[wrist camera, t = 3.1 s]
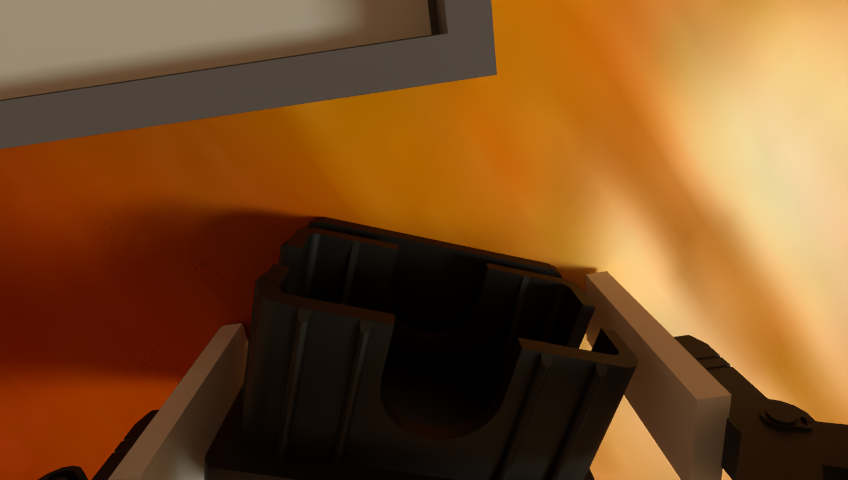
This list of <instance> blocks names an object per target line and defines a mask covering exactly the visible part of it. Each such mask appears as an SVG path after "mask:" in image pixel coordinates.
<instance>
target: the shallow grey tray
mask: <svg viewBox="0 0 848 480" xmlns="http://www.w3.org/2000/svg"><path fill="white" fill-rule="evenodd" d="M490 75H497V71H496V58H495V46H494V33H493V20H492V7H491V0H0V149H3V148H9V147H16V146H23V145H29V144H36V143H43V142H49V141H56V140H63V139H69V138H76V137H83V136H89V135H96V134H103V133H110V132H116V131H123V130H130V129H136V128H143V127H150V126H156V125H163V124H170V123H176V122H183V121H190V120H196V119H203V118H210V117H216V116H223V115H230V114H237V113H243V112H250V111H257V110H263V109H270V108H277V107H283V106H290V105H297V104H303V103H310V102H317V101H323V100H330V99H337V98H343V97H350V96H357V95H364V94H370V93H377V92H384V91H390V90H397V89H404V88H410V87H417V86H424V85H430V84H437V83H444V82H450V81H457V80H464V79H470V78H477V77H484V76H490Z"/></svg>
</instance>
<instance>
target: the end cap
mask: <svg viewBox="0 0 848 480" xmlns="http://www.w3.org/2000/svg"><path fill="white" fill-rule="evenodd" d="M595 308H596V307H595V305H594V304H593V303H592V302H591V300H590V299H589V298H588V297H587V295H586V294H585V293H584V292H583V291H582V289H580V288H579V287H578V286H577V285H575V284H574V283H571V282H569V281H567V280H564V279H562V277H561V275H560V273H559V272H558V271H557V269H556V268H555V267H553V266H552V265H550V264H547V263H542V262H537V261H533V260H528V259H523V258H518V257H513V256H509V255H504V254H499V253H494V252H489V251H485V250H480V249H475V248H470V247H465V246H461V245H456V244H451V243H446V242H441V241H437V240H432V239H427V238H422V237H417V236H413V235H408V234H403V233H398V232H393V231H389V230H384V229H379V228H374V227H370V226H365V225H360V224H355V223H350V222H346V221H341V220H336V219H331V218H326V217H323V218H316V219H314V220H313V221H311V222H310V223H309V224H308V226H307V227H306V228H303V229H299V230H298V231H296V233H295V234H294V235H293V237H292V238H291V239H289V240H288V241H286V242H285V243H283V244H282V245H281V252H280V259H279V265H275V264H273V265H272V267H271V268H270V270H269V271H268V272H266V273H265V274H263V275H262V276H260V277H259V278H258V279H257V280H256V283H255V291H254V299H253V308H252V316H251V325H250V333H249V342H248V350H247V358H246V367H245V375H244V383H243V385H242V387H241V389H240V391H239V392H238V394H237V396H236V398H235V400H234V402H233V404H232V406H231V408H230V409H229V411H228V413H227V415H226V417H225V419H224V421H223V423H222V425H221V426H220V428H219V430H218V432H217V434H216V436H215V438H214V440H213V442H212V444H211V445H210V447H209V449H208V451H207V453H206V455H205V460H204V480H595V479H594V477H593V475H592V473H591V471H590V469H589V468H590V466H591V463H592V461H593V459H594V457H595V455H596V453H597V451H598V448H599V446H600V444H601V442H602V440H603V438H604V436H605V433H606V431H607V429H608V427H609V425H610V423H611V421H612V418H613V416H614V414H615V412H616V410H617V408H618V406H619V404H620V401H621V399H622V397H623V395H624V393H625V391H626V389H627V386H628V384H629V382H630V380H631V378H632V376H633V374H634V371H635V369H636V367H637V365H638V359H637V357H636V356H635V354H634V353H633V352H632V351H631V349H630V348H629V347H628V346H627V345H626V343H625V342H624V341H623V340H622V338H621V337H620V336H619V335H618V334H617V332H616V331H615V330H610V329H605V328H601V329H600V331H599V334H598V336H597V338H596V341H595V343H594V345H593V348H592V350H591V351H588V350H582V349H579V347H580V344H581V342H582V340H583V337H584V335H585V332H586V330H587V327H588V325H589V322H590V320H591V318H592V315H593V313H594V310H595Z"/></svg>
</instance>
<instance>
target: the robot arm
mask: <svg viewBox="0 0 848 480" xmlns="http://www.w3.org/2000/svg"><path fill="white" fill-rule="evenodd" d="M586 295H587V297H588V298H589V299H590V300H591V302H592V303H593V304H594V305H595V307H596V308H595V310H594V313H593V315H592V318H591V320H590V322H589V325H588V327H587V341H588V342H589V343H590V345H591V346H592V348H593V345H594V343H595V341H596V338H597V336H598V334H599V331H600V329H601V328H605V329H610V330H615V331H616V332H617V334H618V335H619V336H620V337H621V338H622V340H623V341H624V342H625V343H626V345H627V346H628V347H629V348H630V349H631V351H632V352H633V353H634V354H635V356H636V357H637V359H638V365H637V367H636V369H635V371H634V374H633V376H632V378H631V380H630V382H629V384H628V386H627V389H626V391H625V393H624V395H625V397H626V398H627V400H628V401H629V403H630V404H631V406H632V407H633V409H634V410H635V412H636V413H637V415H638V416H639V418H640V419H641V421H642V422H643V424H644V425H645V427H646V428H647V430H648V431H649V433H650V434H651V436H652V437H653V439H654V440H655V441H656V443H657V444H658V446H659V447H660V449H661V450H662V452H663V453H664V455H665V456H666V458H667V459H668V461H669V462H670V464H671V465H672V467H673V468H674V470H675V471H676V473H677V474H678V476H679V477H680V479H681V480H721V477H722V469H724V470H725V471H726V472H727V474H728V475H729V476H730V477H731V479H732V480H848V425H845V424H835V423H825V422H818V421H815V420H814V419H813V418H812V417H811V416H810V415H809V414H808V413H806V412H805V411H803V410H801V409H799V408H798V407H796V406H794V405H791V404H788V403H785V402H782V401H778V400H772V399H767V398H766V397H765V396H764V395H763V394H762V393H761V392H760V391H759V390H758V389H756V388H755V387H754V386H753V385H752V384H751V383H750V382H749V381H748V380H746V379H745V378H744V377H743V376H742V375H741V374H740V373H739V372H738V371H736V370H735V369H734V368H733V367H730V364H729V363H728V362H726V361H725V360H724V359H723V358H722V357H721V358H720V355H719V354H718V353H717V352H715V351H714V350H713V349H712V348H711V347H710V346H709V345H708V344H706V343H704V342H702V341H700V340H698V339H696V338H694V337H692V336H690V335H685V336H678V337H673V336H672V335H671V334H670V333H669V332H668V331H667V330H666V329H665V328H664V327H663V326H662V325H661V324H660V323H659V322H658V321H657V320H655V319H654V318H653V317H652V316H651V315H650V314H649V313H648V312H647V311H646V310H645V309H644V308H643V307H642V306H641V305H640V304H639V303H638V302H637V301H636V300H635V299H634V298H633V297H632V296H631V295H630V294H629V293H628V292H627V291H626V290H625V289H624V288H623V287H622V286H621V285H620V284H619V283H618V282H617V281H616V280H615V279H614V278H613V277H612V276H611V275H610V274H609V273H608V272H607V271H606V272H598V273H591V274H586ZM247 350H248V339H247V336H246V333H245V330H244V327H243V324H242V323H238V324H231V325H224V326H221V327H220V329H219V330H218V331H217V333H216V334H215V335H214V337H213V338H212V339H211V341H210V342H209V344H208V345H207V346H206V348H205V349H204V350H203V352H202V353H201V354H200V356H199V357H198V358H197V360H196V361H195V362H194V364H193V365H192V367H191V368H190V369H189V371H188V372H187V373H186V375H185V376H184V377H183V379H182V380H181V381H180V383H179V384H178V385H177V387H176V388H175V390H174V391H173V392H172V394H171V395H170V396H169V398H168V399H167V400H166V402H165V403H164V404H163V406H162V407H161V408H160V410H153V411H151V412H149V413H148V414H147V415H146V416H144V417H143V418H142V419H141V420H139V421H138V422H137V423H136V424H135V425H134V426H133V427H132V429H131V430H130V431H129V433H128V434H127V435H126V436H125V438H124V441H122V442H121V443H120V444H119V445H118V447H117V448H116V449H115V453H112V454H111V456H110V457H109V458H108V459H107V461H106V462H105V463H104V465H103V466H102V467H101V468H100V470H99V471H98V472H97V474H96V475H95V476H94V477H93V479H92V480H204V460H205V455H206V453H207V451H208V449H209V447H210V445H211V444H212V442H213V440H214V438H215V436H216V434H217V432H218V430H219V428H220V426H221V425H222V423H223V421H224V419H225V417H226V415H227V413H228V411H229V409H230V408H231V406H232V404H233V402H234V400H235V398H236V396H237V394H238V392H239V391H240V389H241V387H242V385H243V383H244V375H245V367H246V358H247ZM38 480H88V479H87V477H86V475H85V473H84V471H83V470H82V468H81V467H77V466H69V467H63V468H60V469H58V470H55V471H53V472H50V473H48V474H46V475H45V476H43V477H41V478H40V479H38Z"/></svg>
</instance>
